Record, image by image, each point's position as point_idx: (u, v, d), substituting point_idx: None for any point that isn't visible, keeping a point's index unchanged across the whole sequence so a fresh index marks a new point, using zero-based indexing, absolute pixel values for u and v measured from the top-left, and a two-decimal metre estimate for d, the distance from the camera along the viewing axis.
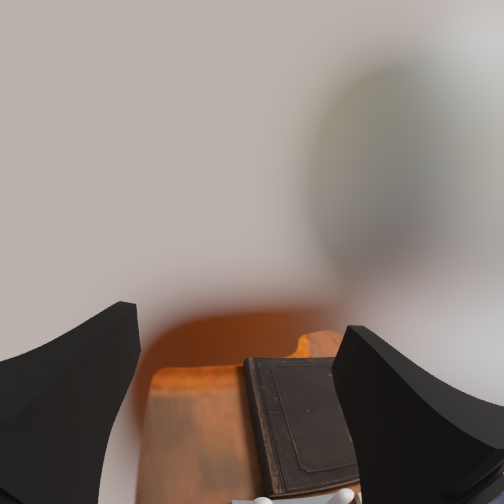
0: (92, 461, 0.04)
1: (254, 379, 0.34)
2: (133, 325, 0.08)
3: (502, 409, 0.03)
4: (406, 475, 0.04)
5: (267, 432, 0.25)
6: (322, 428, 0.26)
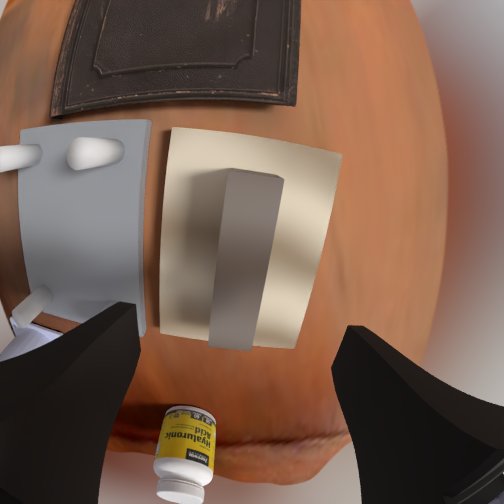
0: (92, 461, 0.04)
1: None
2: (133, 325, 0.08)
3: (502, 409, 0.03)
4: (406, 475, 0.04)
5: (78, 10, 0.09)
6: None
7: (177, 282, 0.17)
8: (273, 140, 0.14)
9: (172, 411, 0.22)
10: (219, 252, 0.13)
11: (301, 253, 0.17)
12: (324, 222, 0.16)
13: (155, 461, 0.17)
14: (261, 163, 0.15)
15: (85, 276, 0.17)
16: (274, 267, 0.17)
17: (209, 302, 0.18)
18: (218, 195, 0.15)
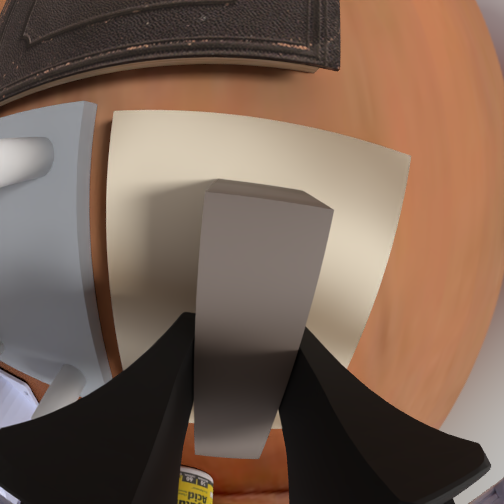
0: (175, 483, 0.04)
1: None
2: None
3: (444, 438, 0.03)
4: (319, 496, 0.04)
5: None
6: None
7: None
8: (297, 126, 0.07)
9: None
10: (197, 354, 0.06)
11: (339, 319, 0.10)
12: (378, 270, 0.09)
13: None
14: (275, 169, 0.08)
15: (31, 330, 0.10)
16: None
17: None
18: (197, 230, 0.08)
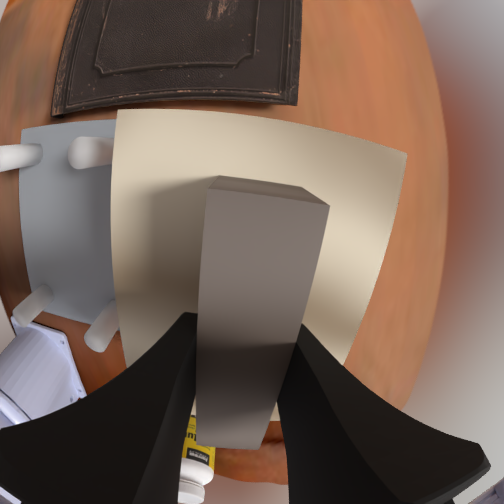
0: (176, 483, 0.04)
1: None
2: None
3: (444, 438, 0.03)
4: (319, 496, 0.04)
5: (80, 10, 0.09)
6: None
7: None
8: (296, 125, 0.08)
9: None
10: (200, 344, 0.07)
11: (336, 312, 0.10)
12: (375, 264, 0.10)
13: None
14: (274, 166, 0.08)
15: (86, 275, 0.17)
16: None
17: None
18: (199, 225, 0.09)
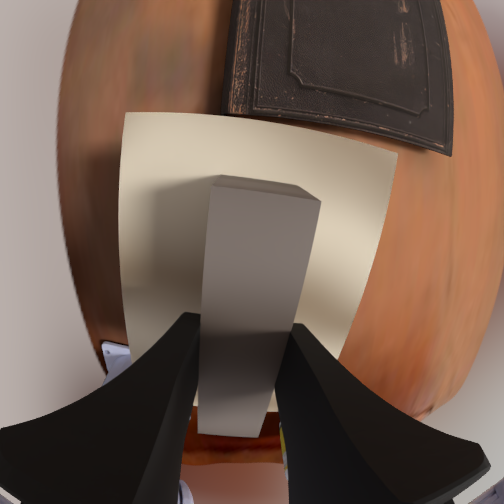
0: (176, 483, 0.04)
1: None
2: None
3: (444, 438, 0.03)
4: (319, 496, 0.04)
5: None
6: (355, 16, 0.11)
7: (152, 342, 0.11)
8: (292, 127, 0.08)
9: None
10: (203, 329, 0.07)
11: (331, 304, 0.11)
12: (368, 258, 0.10)
13: None
14: (272, 166, 0.09)
15: None
16: None
17: None
18: (202, 220, 0.09)
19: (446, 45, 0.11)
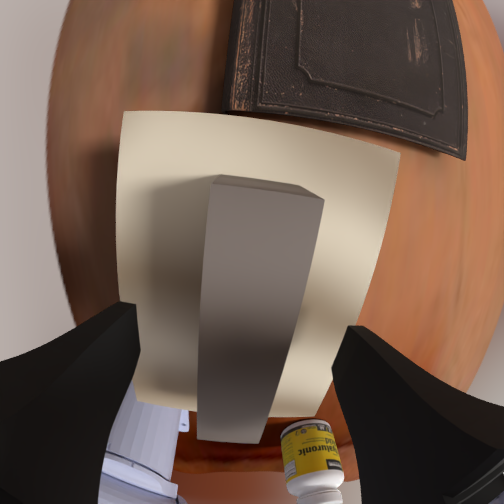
0: (92, 461, 0.04)
1: None
2: (133, 325, 0.08)
3: (502, 409, 0.03)
4: (406, 475, 0.04)
5: None
6: (367, 10, 0.10)
7: (150, 347, 0.11)
8: (293, 126, 0.08)
9: (296, 427, 0.22)
10: (202, 333, 0.07)
11: (334, 307, 0.11)
12: (371, 260, 0.10)
13: (294, 480, 0.17)
14: (273, 166, 0.09)
15: None
16: None
17: (198, 372, 0.12)
18: (201, 221, 0.09)
19: (459, 43, 0.10)
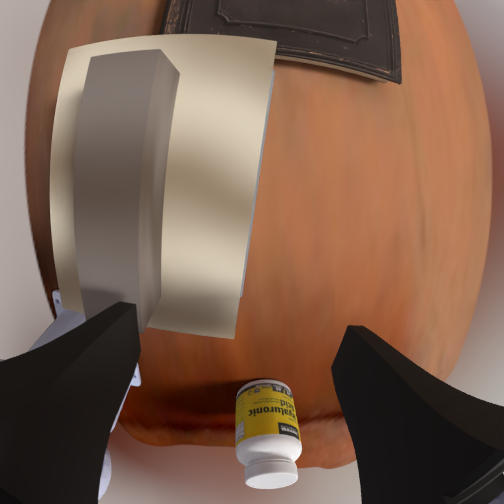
0: (92, 461, 0.04)
1: None
2: (133, 325, 0.08)
3: (502, 409, 0.03)
4: (406, 475, 0.04)
5: None
6: None
7: (68, 236, 0.11)
8: (177, 35, 0.08)
9: (250, 387, 0.22)
10: (75, 168, 0.07)
11: (223, 182, 0.11)
12: (256, 133, 0.10)
13: (241, 443, 0.17)
14: None
15: None
16: (184, 207, 0.11)
17: None
18: None
19: None
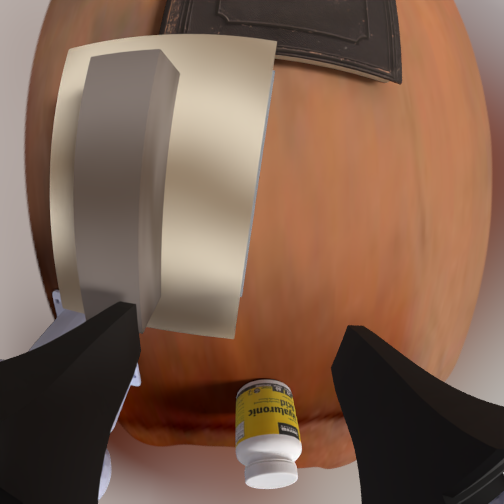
0: (92, 461, 0.04)
1: None
2: (133, 325, 0.08)
3: (502, 409, 0.03)
4: (406, 475, 0.04)
5: None
6: None
7: (68, 236, 0.11)
8: (177, 35, 0.08)
9: (250, 387, 0.22)
10: (75, 168, 0.07)
11: (223, 182, 0.11)
12: (256, 133, 0.10)
13: (241, 443, 0.17)
14: None
15: None
16: (184, 207, 0.11)
17: None
18: None
19: None
